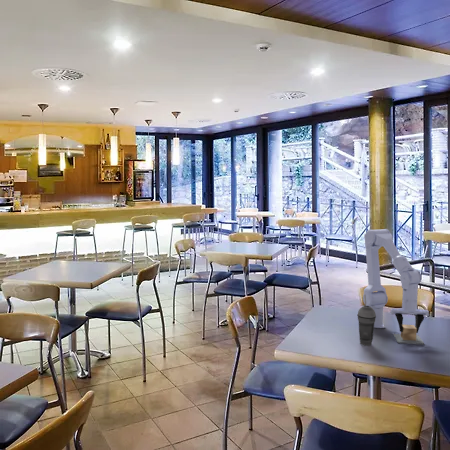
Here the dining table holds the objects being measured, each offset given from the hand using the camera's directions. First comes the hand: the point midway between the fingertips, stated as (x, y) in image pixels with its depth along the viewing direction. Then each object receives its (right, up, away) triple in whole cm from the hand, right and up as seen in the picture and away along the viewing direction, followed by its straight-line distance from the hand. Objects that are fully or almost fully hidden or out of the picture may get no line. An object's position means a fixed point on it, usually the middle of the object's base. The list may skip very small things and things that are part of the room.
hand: (408, 331), depth 193 cm
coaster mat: (0, -3, 0) cm, 3 cm away
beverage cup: (-19, -4, -5) cm, 20 cm away
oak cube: (0, -3, 0) cm, 3 cm away
